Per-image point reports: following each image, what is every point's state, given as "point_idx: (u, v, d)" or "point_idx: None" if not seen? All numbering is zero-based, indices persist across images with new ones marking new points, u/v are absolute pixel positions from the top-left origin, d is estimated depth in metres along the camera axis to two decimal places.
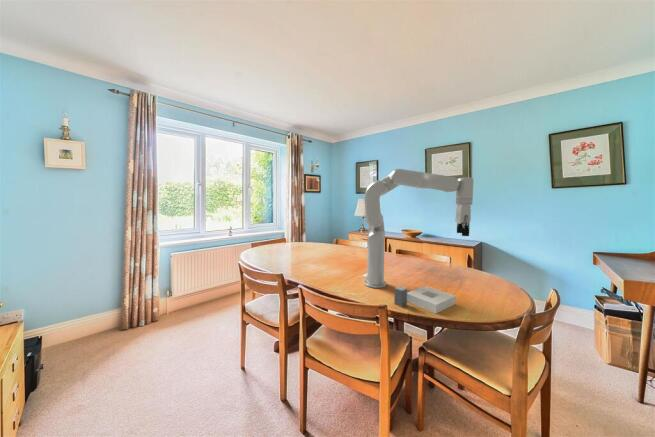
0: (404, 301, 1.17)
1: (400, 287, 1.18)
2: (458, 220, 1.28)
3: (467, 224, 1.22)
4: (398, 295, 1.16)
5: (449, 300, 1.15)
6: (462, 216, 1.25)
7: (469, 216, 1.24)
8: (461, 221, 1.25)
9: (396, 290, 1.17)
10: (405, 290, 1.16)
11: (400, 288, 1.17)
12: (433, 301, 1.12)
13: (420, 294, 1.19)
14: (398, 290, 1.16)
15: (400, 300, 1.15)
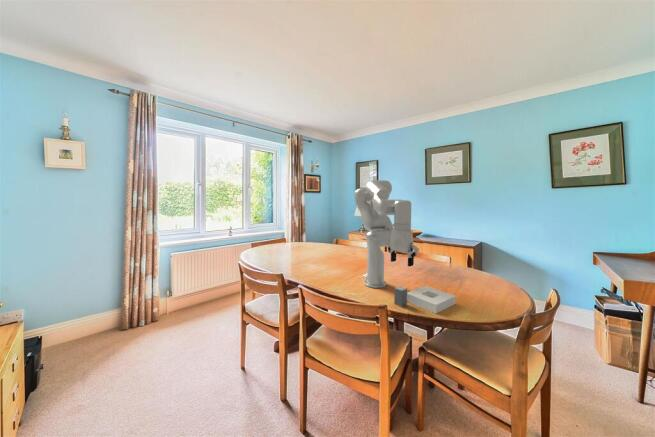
0: (404, 301, 1.17)
1: (400, 287, 1.18)
2: (401, 249, 1.12)
3: (416, 253, 1.09)
4: (398, 295, 1.16)
5: (449, 300, 1.15)
6: (408, 244, 1.10)
7: None
8: (408, 250, 1.10)
9: (396, 290, 1.17)
10: (405, 290, 1.16)
11: (400, 288, 1.17)
12: (433, 301, 1.12)
13: (420, 294, 1.19)
14: (398, 290, 1.16)
15: (400, 300, 1.15)
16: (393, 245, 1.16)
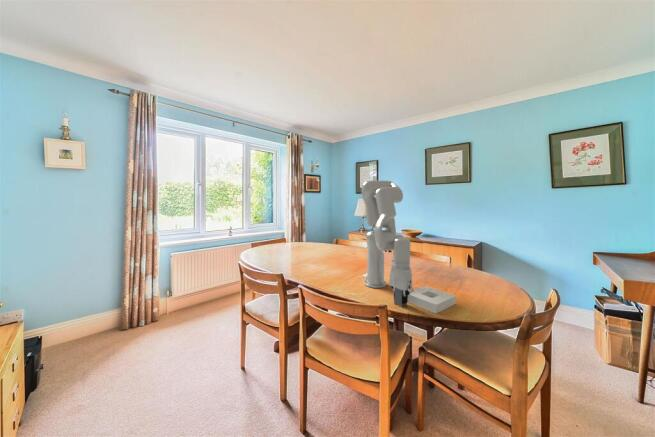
0: None
1: None
2: (400, 286, 1.14)
3: (409, 293, 1.13)
4: (398, 295, 1.16)
5: (449, 300, 1.15)
6: (407, 282, 1.12)
7: (411, 281, 1.14)
8: (406, 288, 1.12)
9: (396, 290, 1.17)
10: None
11: None
12: (433, 301, 1.12)
13: (420, 294, 1.19)
14: (398, 290, 1.16)
15: (400, 300, 1.16)
16: (392, 281, 1.18)
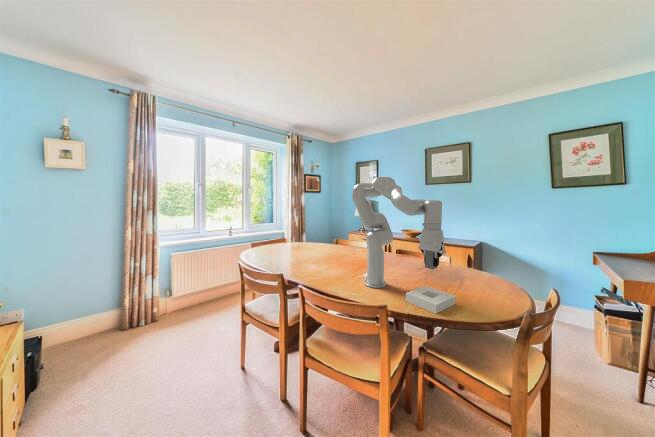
0: None
1: None
2: (432, 248, 1.14)
3: None
4: (429, 257, 1.16)
5: (449, 300, 1.15)
6: (439, 244, 1.12)
7: (443, 243, 1.14)
8: (439, 249, 1.12)
9: (427, 253, 1.17)
10: None
11: None
12: (433, 301, 1.12)
13: (420, 294, 1.19)
14: (429, 253, 1.16)
15: (431, 262, 1.15)
16: (423, 244, 1.18)
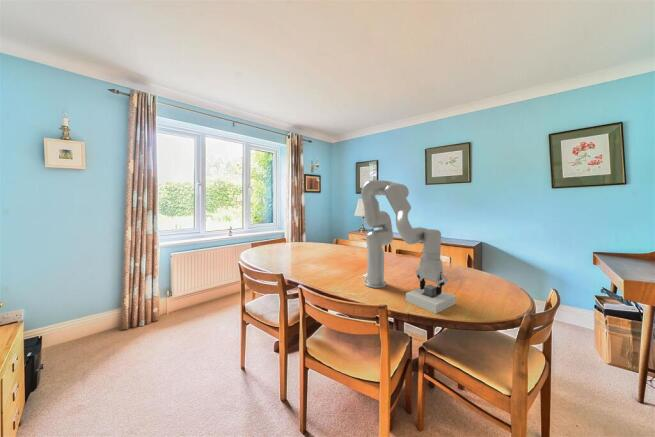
0: None
1: (429, 285, 1.20)
2: (431, 277, 1.15)
3: (444, 283, 1.13)
4: (428, 293, 1.18)
5: (449, 300, 1.15)
6: (438, 274, 1.13)
7: (442, 272, 1.15)
8: (438, 279, 1.13)
9: (426, 288, 1.19)
10: (435, 288, 1.18)
11: (429, 287, 1.18)
12: (433, 301, 1.12)
13: (420, 294, 1.19)
14: (428, 288, 1.18)
15: None
16: (422, 273, 1.19)
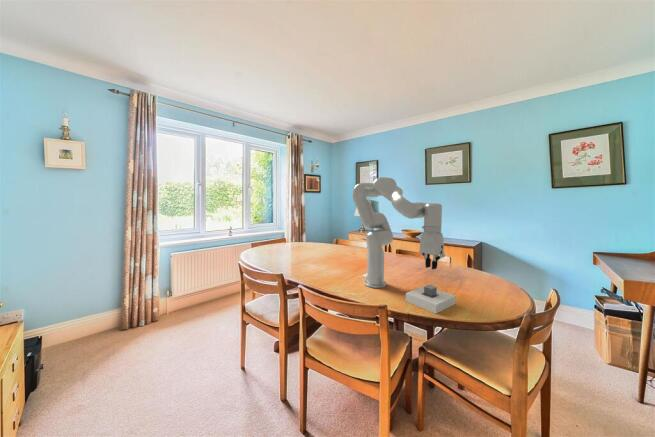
0: None
1: (429, 285, 1.20)
2: (432, 251, 1.14)
3: None
4: (428, 293, 1.18)
5: (449, 300, 1.15)
6: (439, 247, 1.12)
7: (443, 246, 1.14)
8: (439, 252, 1.12)
9: (426, 288, 1.19)
10: (435, 288, 1.18)
11: (429, 287, 1.18)
12: (433, 301, 1.12)
13: (420, 294, 1.19)
14: (428, 288, 1.18)
15: None
16: (423, 247, 1.18)
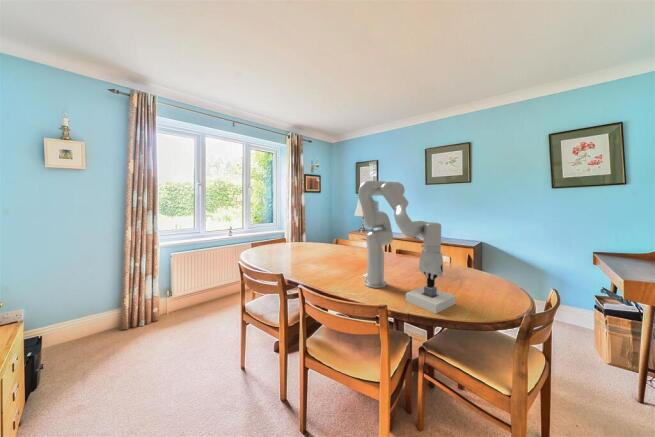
0: None
1: None
2: (431, 270, 1.15)
3: (437, 276, 1.16)
4: (428, 293, 1.18)
5: (449, 300, 1.15)
6: (439, 266, 1.13)
7: (442, 265, 1.15)
8: (438, 272, 1.13)
9: (426, 288, 1.19)
10: (435, 288, 1.18)
11: (429, 287, 1.18)
12: (433, 301, 1.12)
13: (420, 294, 1.19)
14: (428, 288, 1.18)
15: None
16: (422, 266, 1.19)
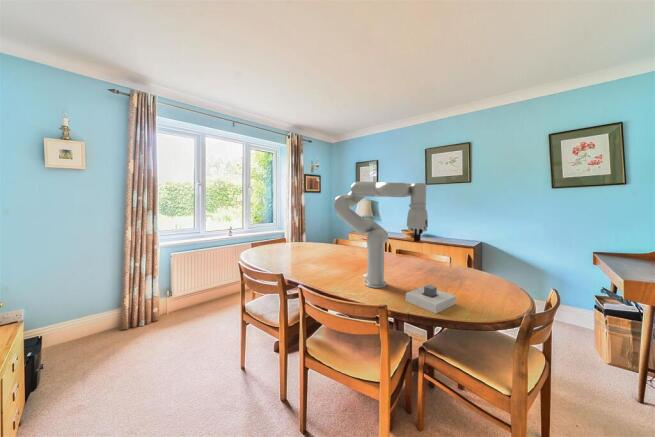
0: None
1: (429, 285, 1.20)
2: (417, 225, 1.28)
3: (422, 231, 1.28)
4: (428, 293, 1.18)
5: (449, 300, 1.15)
6: (424, 221, 1.26)
7: (427, 221, 1.27)
8: (423, 226, 1.26)
9: (426, 288, 1.19)
10: (435, 288, 1.18)
11: (429, 287, 1.18)
12: (433, 301, 1.12)
13: (420, 294, 1.19)
14: (428, 288, 1.18)
15: None
16: (409, 223, 1.31)
